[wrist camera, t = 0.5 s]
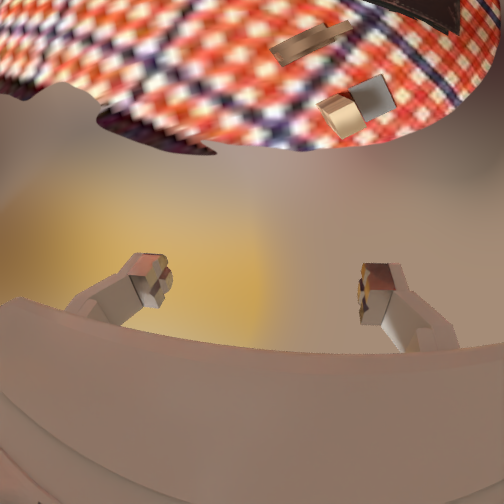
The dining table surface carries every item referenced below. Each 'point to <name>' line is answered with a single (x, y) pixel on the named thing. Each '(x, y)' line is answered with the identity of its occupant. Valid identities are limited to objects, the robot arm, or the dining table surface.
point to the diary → (427, 12)
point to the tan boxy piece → (341, 115)
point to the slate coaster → (372, 98)
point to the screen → (307, 42)
